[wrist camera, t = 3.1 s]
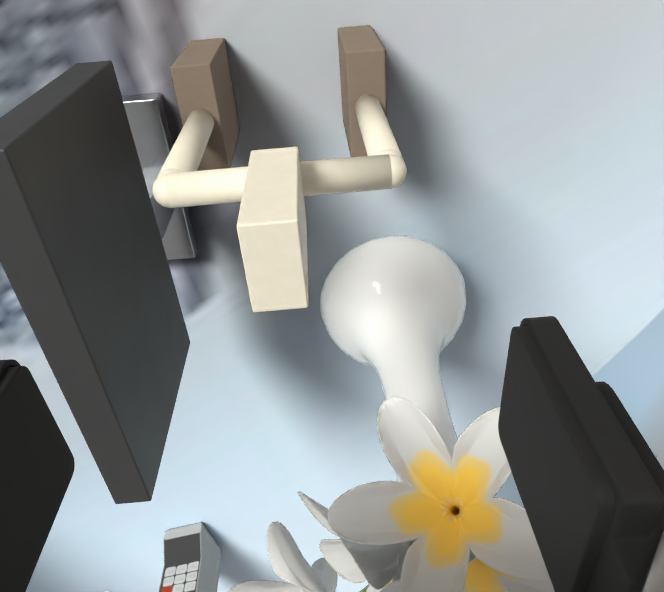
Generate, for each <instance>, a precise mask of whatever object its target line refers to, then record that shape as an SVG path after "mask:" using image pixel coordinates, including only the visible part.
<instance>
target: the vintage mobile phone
mask: <svg viewBox="0 0 664 592" xmlns="http://www.w3.org/2000/svg"><path fill="white" fill-rule="evenodd" d="M221 553H222V551H221V549H220V547H219V546H218V545H217V543H216V542H215V540H214V539H213V538H212V536H211V535H210V533H209V532H208V531H207V529H206V528H205V527H204V525H203V524H202V523H201V522H200V523H196V524H191V525H187V526H182V527H178V528H173V529H169V530H167V531H166V532H165V537H164V568H163V573H162V578H161V583H160V588H159V592H217V586H218V578H219V569H220V561H221Z"/></svg>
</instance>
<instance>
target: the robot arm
mask: <svg viewBox="0 0 664 592" xmlns="http://www.w3.org/2000/svg"><path fill="white" fill-rule="evenodd" d="M498 431H499V437H500V441H501V444H502V447H503V449H504V452H505V455H506V458H507V460H508V463H509V466H510V469H511V472H512V474H513V477H514V480H515V483H516V485H517V488H518V491H519V494H520V496H521V499H522V502H523V505H524V508H525V510H526V513H527V516H528V519H529V521H530V524H531V527H532V530H533V533H534V535H535V538H536V541H537V544H538V546H539V549H540V552H541V555H542V557H543V560H544V563H545V566H546V569H547V571H548V574H549V577H550V580H551V582H552V585H553V588H554V591H555V592H664V470H663V468H662V467H661V465H660V464H659V462H658V461H657V459H656V457H655V456H654V454H653V452H652V451H651V449H650V448H649V446H648V445H647V443H646V441H645V440H644V438H643V436H642V435H641V433H640V432H639V430H638V429H637V427H636V425H635V424H634V422H633V421H632V419H631V417H630V416H629V414H628V413H627V411H626V410H625V408H624V406H623V405H622V403H621V401H620V400H619V398H618V397H617V395H616V394H615V392H614V391H613V389H612V388H611V387H610V386H609V385H608V384H606V383H605V382H595V381H594V379H593V378H592V376H591V374H590V373H589V371H588V369H587V368H586V366H585V364H584V363H583V361H582V359H581V358H580V356H579V354H578V353H577V351H576V349H575V348H574V346H573V344H572V343H571V341H570V339H569V338H568V336H567V335H566V333H565V331H564V330H563V328H562V326H561V325H560V323H559V321H558V320H557V319H556V317H553V316H549V317H537V318H525V319H523V320H522V321H521V324H520V326H519V327H513V328H512V330H511V336H510V343H509V350H508V357H507V364H506V371H505V378H504V385H503V392H502V399H501V406H500V413H499V420H498ZM73 472H74V458H73V455H72V453H71V451H70V449H69V447H68V445H67V443H66V441H65V439H64V437H63V435H62V433H61V431H60V429H59V427H58V425H57V424H56V422H55V420H54V418H53V416H52V414H51V412H50V410H49V408H48V406H47V404H46V402H45V400H44V398H43V396H42V394H41V392H40V390H39V388H38V386H37V384H36V382H35V381H34V379H33V377H32V375H31V373H30V371H29V370H28V368H27V367H25V366H21V365H20V364H19V363H18V362H17V361H16V360H0V592H25V591H26V589H27V586H28V584H29V581H30V579H31V576H32V574H33V572H34V569H35V567H36V564H37V562H38V559H39V557H40V554H41V552H42V549H43V547H44V544H45V542H46V539H47V537H48V535H49V532H50V530H51V527H52V525H53V522H54V520H55V517H56V515H57V512H58V510H59V507H60V505H61V502H62V500H63V498H64V495H65V493H66V490H67V488H68V485H69V483H70V480H71V478H72V475H73Z"/></svg>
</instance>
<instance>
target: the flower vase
mask: <svg viewBox="0 0 664 592" xmlns="http://www.w3.org/2000/svg"><path fill="white" fill-rule="evenodd" d="M465 307H466V290H465V283H464V278H463V276H462V274H461V272H460V270H459V269H458V267H457V265H456V263H455V262H454V261H453V260H452V259H451V258H450V257H449V256H448V255H447V254H446V253H445V252H444V251H443V250H442V249H441V248H439V247H437V246H435V245H433V244H431V243H429V242H428V241H426V240H422V239H417V238H413V237H409V236H385V237H381V238H377V239H373V240H369V241H367V242H365V243H363V244H361V245H359V246H357V247H355V248H353V249H351V250H350V251H349V252H348V253H347V254H345V255H344V256H343V257H342V258H341V259H340V260H338V261H337V262H336V264H335V265H334V267H333V268H332V270H331V271H330V272H329V274H328V275H327V277H326V280H325V283H324V286H323V289H322V292H321V315H322V318H323V321H324V324H325V327H326V330H327V332H328V334H329V335H330V337H331V338H332V339H333V341H334V342H335V343H336V345H337V346H338V347H339V349H341V350H342V351H343V352H345V353H346V354H347V355H349V356H350V357H351V358H353V359H354V360H356V361H358V362H361V363H363V364H366V365H368V366H371V367H374V368H375V370H376V372H377V374H378V376H379V379H380V381H381V384H382V387H383V391H384V395H385V399H386V400H385V401H383V402H382V404H381V406H380V407H379V411H378V418H377V425H378V434H379V438H380V442H381V445H382V447H383V451H384V453H385V455H386V456H387V459H388V461H389V463H390V464H391V466H392V467H393V469H394V470H395V472H396V473H397V482H395V481H378V482H372V483H367V484H364V485H360V486H357V487H355V488H353V489H351V490H348V491H347V492H346V493H344V494H342V495H341V496H340V497H339V498H338V499H336V500H335V501H334V503H333V504H332V505H331V507H330V509H327V508H325V507H324V506H322V505H321V504H319V503H317V502H316V501H314V500H313V499H311V498H309V497H308V496H306V495H305V494H303V493H302V492H300V491H299V492H298V494H299V496H300V498H301V500H302V501H303V502H304V504H305V506H306V507H307V508H308V510H309V511H310V512H311V513H312V514H313V516H314V517H315V518H316V519H317V520H318V521H319V522H320V524H321V525H323V526H324V527H325V528H326V529H327V530H328V531H330V532H331V533H333V534H335V535H337V536H339V537H341V538H340V539H337V540H334V539H324V540H321V542H320V544H319V545H320V551H321V552H322V553H323V555H324V558H320V559H318V560H317V561H315V562H314V564H313V565H312V567H311V566H310V565H309V564H308V562H307V561H306V560H305V559H304V557H303V556H302V554H301V552H300V550H299V548H298V546H297V545H296V543H295V541H294V539H293V537H292V536H291V534H290V532H289V531H288V530H287V529H286V527H285V526H283V525H282V524H281V523H279V522H278V521H277V522H273V523H271V524H270V525H269V528H268V532H267V551H268V555H269V559H270V562H271V565H272V567H273V569H274V571H275V573H276V574H277V575H278V576H279V577H280V578H282V579H283V580H285V581H287V582H289V583H287V582H277V581H266V580H255V581H247V582H243V583H240V584H238V585H236V586H234V587H233V588H231V589H230V590H229V592H335V590H336V586H337V573H338V574H339V575H340V576H341V577H343V578H344V579H346V580H348V581H350V582H353V583H362V582H364V581H366V580H367V581H368V583H369V585H367V586H366V587H365V588H364V589H362V590H361V591H360V592H555V591H554V588H553V585H552V582H551V580H550V577H549V574H548V571H547V569H546V566H545V563H544V560H543V557H542V555H541V552H540V549H539V546H538V544H537V541H536V538H535V535H534V533H533V530H532V527H531V524H530V521H529V519H528V516H527V513H526V510H525V508H523V507H521V506H519V505H517V504H516V503H514V502H511V501H508V500H506V499H504V498H494V496H495V495H496V494H497V492H498V490H499V489H500V488H501V487H502V485H503V484H504V482H505V481H506V480H507V479H508V478H509V476H510V474H511V473H512V472H511V469H510V466H509V463H508V460H507V458H506V455H505V452H504V449H503V447H502V444H501V441H500V437H499V431H498V420H499V413H500V407H498V408H494V409H491V410H490V411H488V412H485V413H483V414H482V415H481V416H480V417H478V418H476V419H475V420H474V421H473V422H472V423H471V424H470V425H469V426H468V427H467V428H466V429H465V430H464V432H463V433H462V434H461V435H460V437H459V439H458V437H457V434H456V432H455V429H454V425H453V422H452V418H451V415H450V411H449V407H448V403H447V399H446V395H445V390H444V386H443V382H442V378H441V372H440V365H439V354H440V352H441V351H442V350H443V349H444V348H445V347H446V346H447V345H448V344H449V343H450V341H451V340H452V339H453V338H454V337H455V335H456V333H457V331H458V329H459V327H460V325H461V323H462V321H463V318H464V313H465ZM654 456H655V457H657V456H656V455H655V454H654Z"/></svg>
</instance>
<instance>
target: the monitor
mask: <svg viewBox="0 0 664 592" xmlns="http://www.w3.org/2000/svg"><path fill="white" fill-rule="evenodd" d="M172 147H173V143H172V139H171V135H170V130H169V126H168V122H167V118H166V114H165V109H164V105H163V101H162V97H161V94H160V93H155V94H144V95H132V96H121V92H120V89H119V85H118V82H117V78H116V74H115V71H114V67H113V64H112V61H100V62H89V63H77V64H75V65H74V66H73V67H71V68H70V69H68V70H67V71H66V72H64V73H63V74H61V75H60V76H59V77H57V78H56V79H54V80H53V81H52V82H50V83H49V84H47V85H46V86H45V87H43V88H42V89H40V90H39V91H38V92H36V93H35V94H33V95H32V96H31V97H29V98H28V99H26V100H25V101H23V102H22V103H21V104H19V105H18V106H16V107H15V108H14V109H12V110H11V111H9V112H8V113H7V114H5V115H4V116H2V117H1V118H0V262H1V264H2V267H3V269H4V271H5V273H6V275H7V277H8V279H9V281H10V283H11V285H12V288H13V290H14V292H15V294H16V296H17V298H18V300H19V302H20V304H21V306H22V309H23V311H24V313H25V315H26V317H27V319H28V321H29V323H30V325H31V327H32V329H33V332H34V334H35V336H36V338H37V340H38V342H39V344H40V346H41V348H42V350H43V353H44V355H45V357H46V359H47V361H48V363H49V365H50V367H51V369H52V371H53V374H54V376H55V378H56V380H57V382H58V384H59V386H60V388H61V390H62V392H63V395H64V397H65V399H66V401H67V403H68V405H69V407H70V409H71V411H72V413H73V415H74V418H75V420H76V422H77V424H78V426H79V428H80V430H81V432H82V434H83V436H84V439H85V441H86V443H87V445H88V447H89V449H90V451H91V453H92V455H93V457H94V460H95V462H96V464H97V466H98V468H99V470H100V472H101V474H102V476H103V478H104V480H105V483H106V485H107V487H108V489H109V491H110V493H111V495H112V497H113V499H114V501H115V503H116V504H122V503H133V502H144V501H151V499H152V495H153V491H154V487H155V483H156V478H157V474H158V470H159V466H160V462H161V458H162V454H163V450H164V446H165V442H166V438H167V434H168V430H169V426H170V422H171V418H172V414H173V410H174V406H175V402H176V398H177V393H178V389H179V385H180V381H181V377H182V373H183V369H184V365H185V361H186V357H187V353H188V349H189V345H190V340H189V336H188V333H187V329H186V325H185V322H184V318H183V315H182V311H181V308H180V304H179V300H178V297H177V293H176V290H175V286H174V282H173V279H172V275H171V272H170V268H169V265H168V261H167V260H174V259H185V258H195V256H196V253H197V249H198V247H197V243H196V239H195V235H194V231H193V226H192V222H191V218H190V214H189V210H188V207H177V208H168V207H164V206H162V205H160V204H159V203H158V202H157V201H156V199H155V198H154V195H153V184H154V182H155V180H156V179H157V176H158V174H159V172H160V170H161V169H162V167H163V165H164V163H165V161H166V159H167V157H168V155H169V153H170V151H171V149H172Z"/></svg>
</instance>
